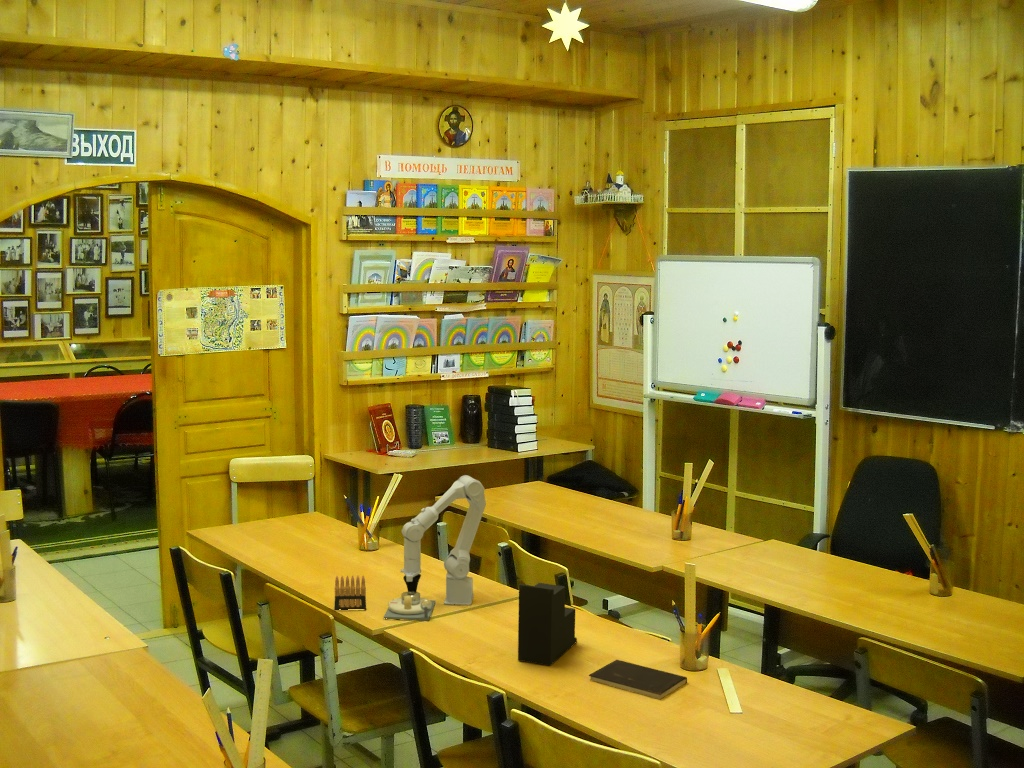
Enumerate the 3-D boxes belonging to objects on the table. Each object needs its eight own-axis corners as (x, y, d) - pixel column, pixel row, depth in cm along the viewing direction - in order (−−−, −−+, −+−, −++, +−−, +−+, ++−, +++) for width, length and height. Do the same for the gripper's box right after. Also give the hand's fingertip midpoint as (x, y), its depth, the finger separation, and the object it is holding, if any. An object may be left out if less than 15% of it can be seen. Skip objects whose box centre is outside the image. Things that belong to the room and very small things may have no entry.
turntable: (433, 601, 385) (433, 586, 384) (428, 614, 370) (428, 598, 370) (392, 600, 385) (392, 585, 385) (385, 613, 371) (385, 597, 370)
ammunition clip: (334, 611, 378) (334, 576, 376) (334, 609, 379) (334, 574, 378) (366, 610, 379) (365, 575, 377) (366, 608, 380) (366, 574, 379)
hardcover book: (660, 701, 305) (660, 693, 304) (588, 682, 318) (588, 674, 318) (687, 684, 317) (687, 676, 317) (617, 666, 331) (617, 658, 331)
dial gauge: (431, 619, 370) (431, 599, 369) (431, 620, 369) (431, 600, 368) (420, 619, 370) (420, 599, 369) (420, 620, 369) (420, 600, 368)
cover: (421, 600, 381) (421, 589, 381) (419, 605, 375) (419, 594, 375) (402, 599, 382) (402, 588, 381) (400, 605, 375) (400, 594, 375)
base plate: (435, 603, 387) (435, 600, 387) (428, 620, 368) (428, 618, 368) (392, 602, 388) (392, 599, 388) (383, 619, 369) (383, 616, 369)
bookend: (545, 637, 354) (546, 565, 351) (577, 642, 349) (579, 569, 347) (516, 661, 332) (517, 585, 330) (550, 667, 328) (551, 589, 325)
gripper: (403, 551, 388) (403, 589, 390) (397, 563, 374) (397, 602, 376) (424, 552, 388) (423, 590, 390) (418, 563, 374) (418, 602, 375)
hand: (412, 596), depth 383 cm, fingers closed
